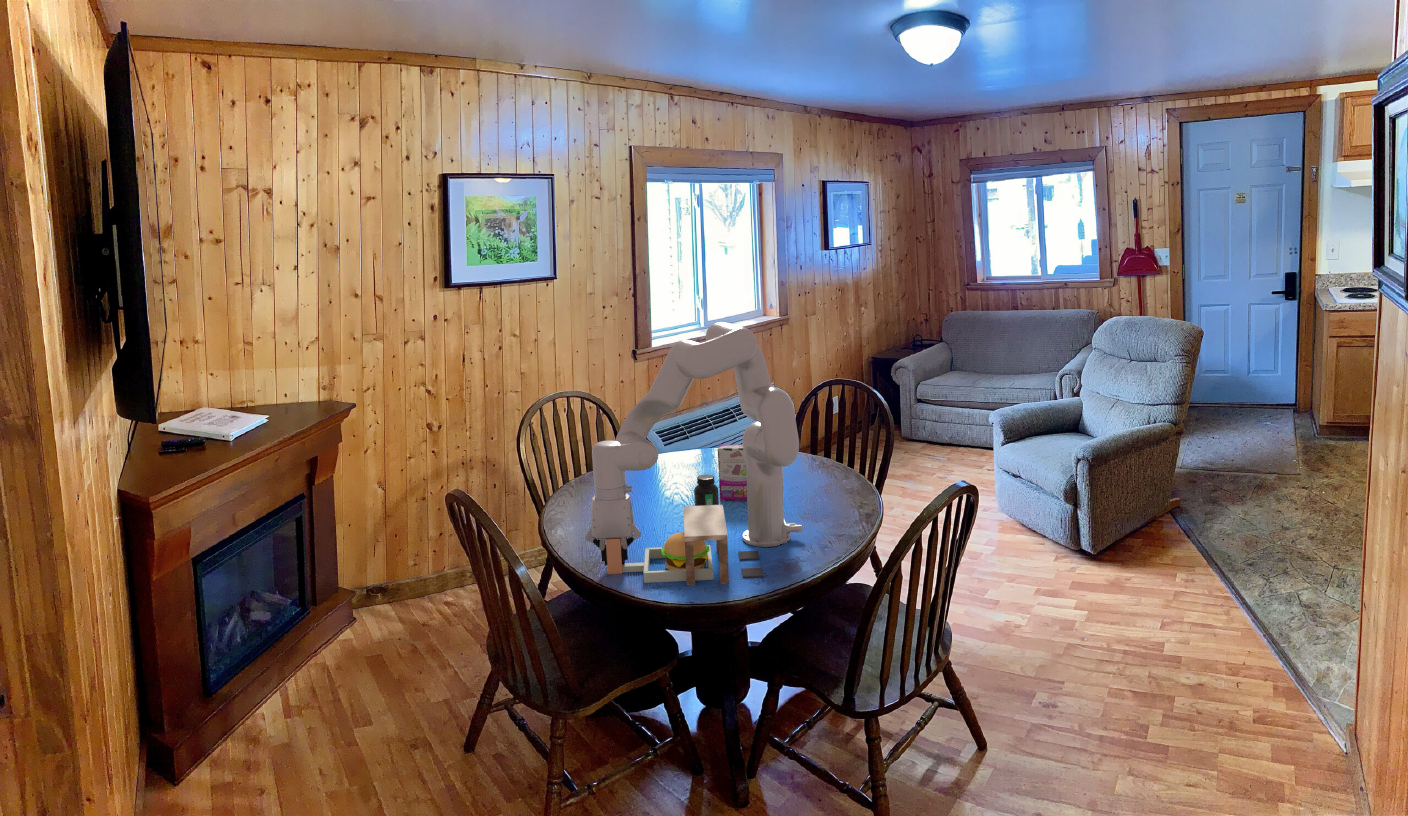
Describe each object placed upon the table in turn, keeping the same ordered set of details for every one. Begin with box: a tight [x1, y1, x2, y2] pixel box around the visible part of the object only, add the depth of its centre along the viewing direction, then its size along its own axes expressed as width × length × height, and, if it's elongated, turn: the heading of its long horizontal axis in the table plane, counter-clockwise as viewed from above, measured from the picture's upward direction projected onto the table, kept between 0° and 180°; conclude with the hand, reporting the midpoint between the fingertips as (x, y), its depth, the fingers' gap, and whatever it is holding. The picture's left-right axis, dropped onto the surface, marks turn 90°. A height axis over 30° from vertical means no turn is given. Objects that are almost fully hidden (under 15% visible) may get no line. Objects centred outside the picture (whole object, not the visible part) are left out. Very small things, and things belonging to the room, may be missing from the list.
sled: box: [605, 538, 714, 584], centre depth 230 cm, size 26×16×9 cm, turn 92°
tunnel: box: [683, 504, 730, 586], centre depth 230 cm, size 10×22×12 cm, turn 2°
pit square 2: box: [741, 566, 765, 579], centre depth 227 cm, size 5×5×1 cm
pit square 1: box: [738, 550, 761, 561], centre depth 237 cm, size 5×5×1 cm
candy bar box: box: [717, 444, 747, 502], centre depth 280 cm, size 11×5×16 cm, turn 81°
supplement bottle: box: [693, 474, 720, 506], centre depth 265 cm, size 7×7×12 cm
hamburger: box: [661, 531, 710, 570], centre depth 231 cm, size 12×12×9 cm
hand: (615, 562), depth 231 cm, fingers closed on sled, 3 cm apart
